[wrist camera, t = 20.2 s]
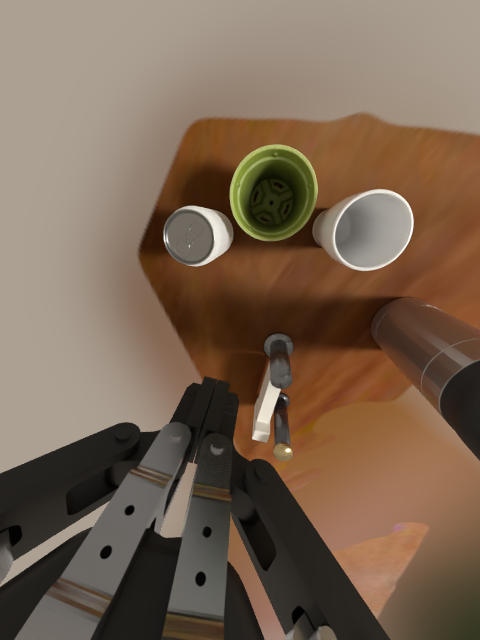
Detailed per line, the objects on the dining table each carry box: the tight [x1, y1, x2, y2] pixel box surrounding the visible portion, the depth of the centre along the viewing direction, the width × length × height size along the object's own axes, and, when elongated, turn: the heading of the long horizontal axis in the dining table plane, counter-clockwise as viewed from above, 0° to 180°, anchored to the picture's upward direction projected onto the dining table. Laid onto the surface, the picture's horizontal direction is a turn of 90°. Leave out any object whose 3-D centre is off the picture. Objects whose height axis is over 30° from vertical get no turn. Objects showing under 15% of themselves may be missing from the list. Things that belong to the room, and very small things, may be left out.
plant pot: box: [230, 145, 318, 241], centre depth 30 cm, size 9×9×9 cm
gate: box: [252, 362, 281, 443], centre depth 40 cm, size 10×2×8 cm, turn 168°
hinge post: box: [264, 333, 293, 389], centre depth 38 cm, size 5×5×10 cm
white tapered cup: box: [312, 189, 413, 271], centre depth 28 cm, size 7×7×15 cm
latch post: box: [274, 393, 293, 461], centre depth 41 cm, size 4×4×12 cm
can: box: [163, 206, 233, 266], centre depth 31 cm, size 6×6×12 cm
